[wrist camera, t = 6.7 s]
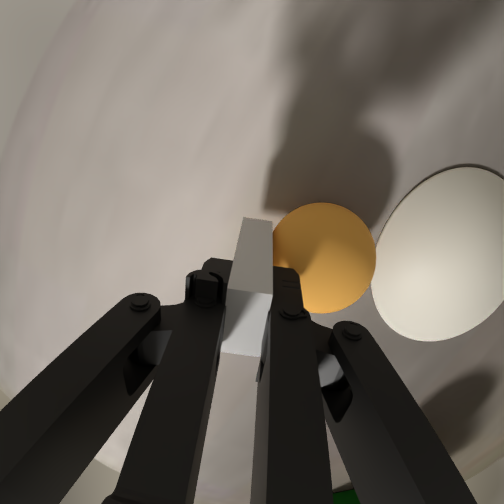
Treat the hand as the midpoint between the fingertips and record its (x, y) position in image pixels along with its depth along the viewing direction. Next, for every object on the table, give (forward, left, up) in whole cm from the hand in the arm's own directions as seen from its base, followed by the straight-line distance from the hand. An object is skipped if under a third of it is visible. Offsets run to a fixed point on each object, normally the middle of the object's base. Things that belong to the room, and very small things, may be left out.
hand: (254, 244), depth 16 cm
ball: (-3, 0, 0) cm, 3 cm away
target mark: (-14, 0, -2) cm, 14 cm away
